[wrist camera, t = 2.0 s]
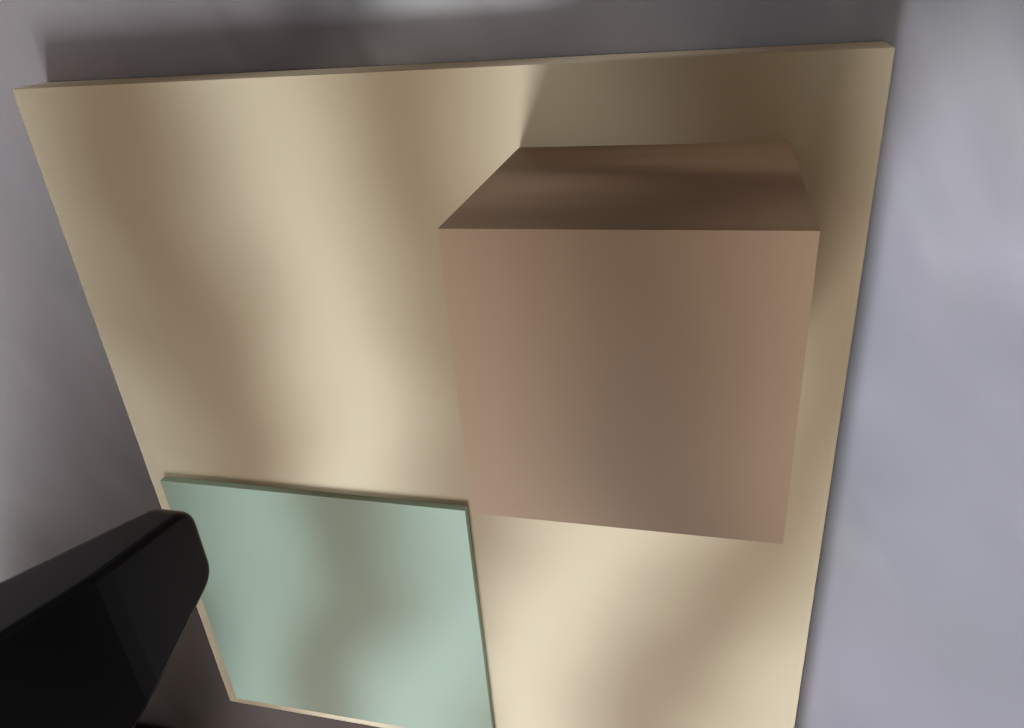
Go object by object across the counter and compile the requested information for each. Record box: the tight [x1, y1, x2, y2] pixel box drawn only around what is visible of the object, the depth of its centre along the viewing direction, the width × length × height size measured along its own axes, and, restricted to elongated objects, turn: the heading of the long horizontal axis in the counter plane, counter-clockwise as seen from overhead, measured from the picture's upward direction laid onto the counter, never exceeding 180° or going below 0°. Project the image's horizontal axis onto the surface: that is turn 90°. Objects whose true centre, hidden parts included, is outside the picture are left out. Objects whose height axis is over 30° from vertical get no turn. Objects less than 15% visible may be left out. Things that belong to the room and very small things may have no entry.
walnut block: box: [438, 142, 820, 544], centre depth 13 cm, size 5×5×5 cm
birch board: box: [12, 41, 895, 728], centre depth 20 cm, size 18×20×1 cm
